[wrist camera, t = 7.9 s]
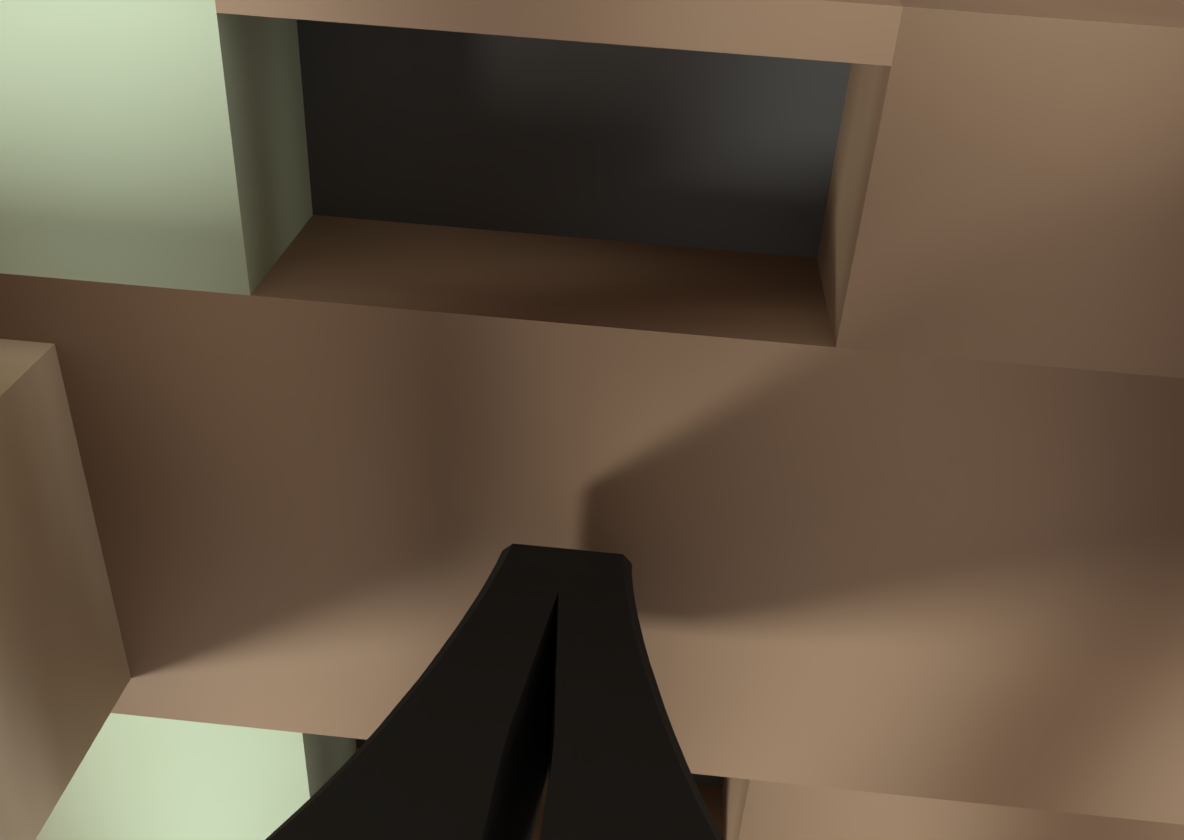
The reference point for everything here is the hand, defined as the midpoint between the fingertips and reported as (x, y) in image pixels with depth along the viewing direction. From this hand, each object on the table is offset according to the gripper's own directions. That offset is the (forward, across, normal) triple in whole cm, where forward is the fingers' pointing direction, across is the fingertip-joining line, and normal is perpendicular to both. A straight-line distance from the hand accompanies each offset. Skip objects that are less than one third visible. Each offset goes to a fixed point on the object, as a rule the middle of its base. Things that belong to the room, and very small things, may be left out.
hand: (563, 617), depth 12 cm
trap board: (+3, 0, 0) cm, 3 cm away
